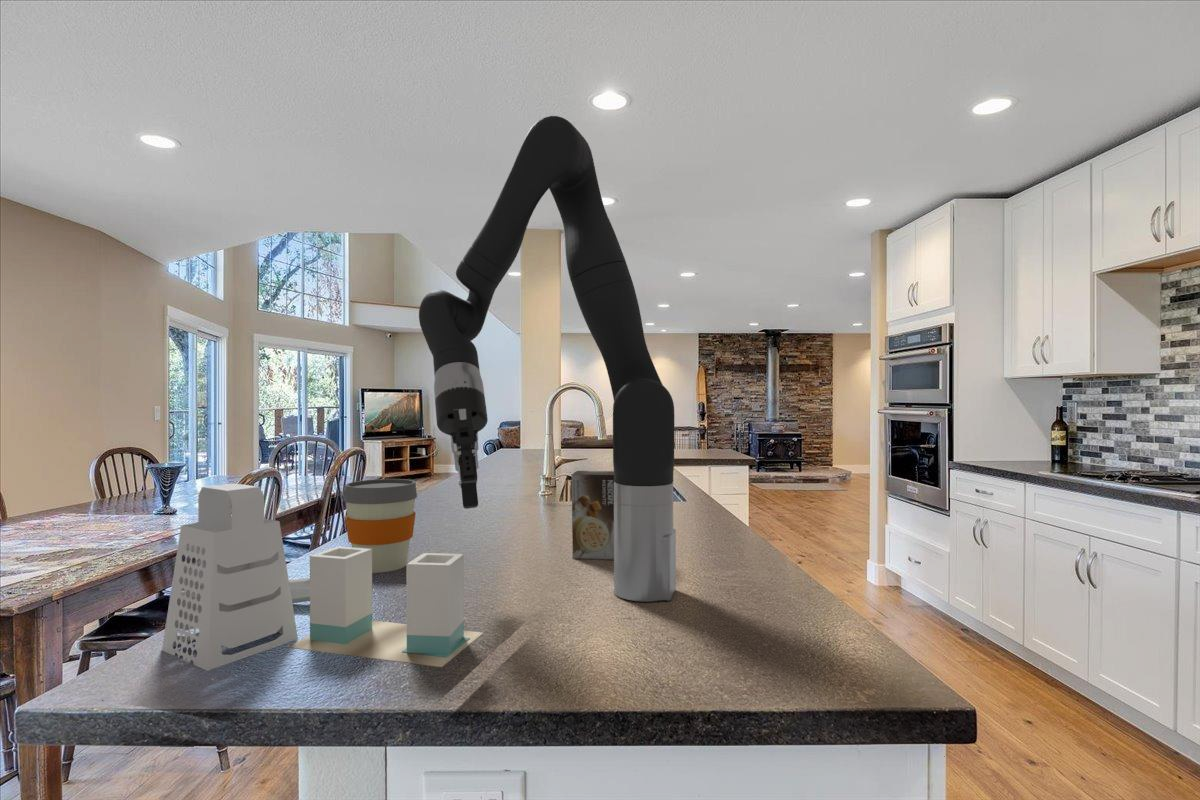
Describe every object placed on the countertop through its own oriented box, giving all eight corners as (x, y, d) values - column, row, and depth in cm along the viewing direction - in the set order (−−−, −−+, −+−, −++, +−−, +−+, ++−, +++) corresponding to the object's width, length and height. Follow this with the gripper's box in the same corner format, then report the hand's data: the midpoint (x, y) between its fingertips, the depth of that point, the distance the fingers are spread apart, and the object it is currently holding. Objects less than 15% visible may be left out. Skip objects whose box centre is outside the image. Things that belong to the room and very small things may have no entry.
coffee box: (623, 552, 122) (623, 470, 122) (618, 560, 116) (618, 474, 115) (577, 550, 123) (577, 469, 123) (570, 558, 117) (570, 473, 117)
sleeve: (463, 637, 74) (463, 554, 74) (449, 654, 69) (449, 565, 69) (423, 635, 75) (423, 553, 75) (406, 652, 70) (406, 564, 70)
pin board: (483, 644, 76) (483, 593, 76) (441, 680, 66) (441, 622, 66) (344, 628, 81) (344, 581, 81) (287, 659, 72) (287, 605, 72)
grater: (206, 685, 65) (205, 496, 65) (159, 663, 71) (159, 489, 71) (299, 651, 74) (299, 484, 74) (251, 633, 80) (251, 478, 80)
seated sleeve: (372, 628, 77) (371, 548, 77) (345, 644, 73) (345, 558, 73) (338, 625, 79) (337, 546, 79) (309, 639, 74) (309, 556, 74)
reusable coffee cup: (404, 575, 106) (404, 488, 106) (331, 575, 106) (330, 488, 106) (425, 557, 118) (425, 478, 118) (360, 556, 119) (360, 478, 118)
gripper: (484, 370, 90) (497, 469, 82) (484, 420, 102) (496, 511, 94) (431, 374, 89) (439, 476, 80) (438, 424, 100) (445, 518, 92)
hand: (470, 495), depth 87 cm, fingers open, 8 cm apart
